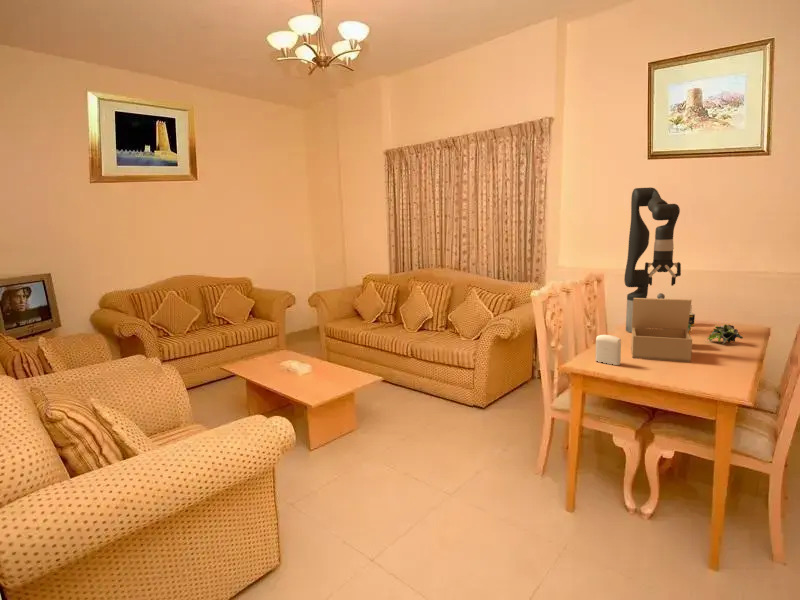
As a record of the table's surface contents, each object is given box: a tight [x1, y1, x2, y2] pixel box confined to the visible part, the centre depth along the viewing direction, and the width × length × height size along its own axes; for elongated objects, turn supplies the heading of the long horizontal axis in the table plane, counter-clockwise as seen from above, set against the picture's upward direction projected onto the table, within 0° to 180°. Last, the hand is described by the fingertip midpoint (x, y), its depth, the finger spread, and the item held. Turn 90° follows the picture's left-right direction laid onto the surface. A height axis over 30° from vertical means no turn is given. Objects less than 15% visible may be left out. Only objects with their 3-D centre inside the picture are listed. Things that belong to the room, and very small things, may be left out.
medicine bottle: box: [688, 304, 696, 328], centre depth 251 cm, size 7×7×12 cm
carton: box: [630, 328, 693, 363], centre depth 203 cm, size 16×22×10 cm
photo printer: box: [595, 334, 622, 366], centre depth 195 cm, size 10×4×12 cm, turn 45°
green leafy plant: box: [706, 323, 744, 346], centre depth 215 cm, size 11×11×12 cm
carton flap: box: [632, 293, 692, 330], centre depth 207 cm, size 16×22×6 cm
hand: (661, 285), depth 205 cm, fingers open, 8 cm apart
